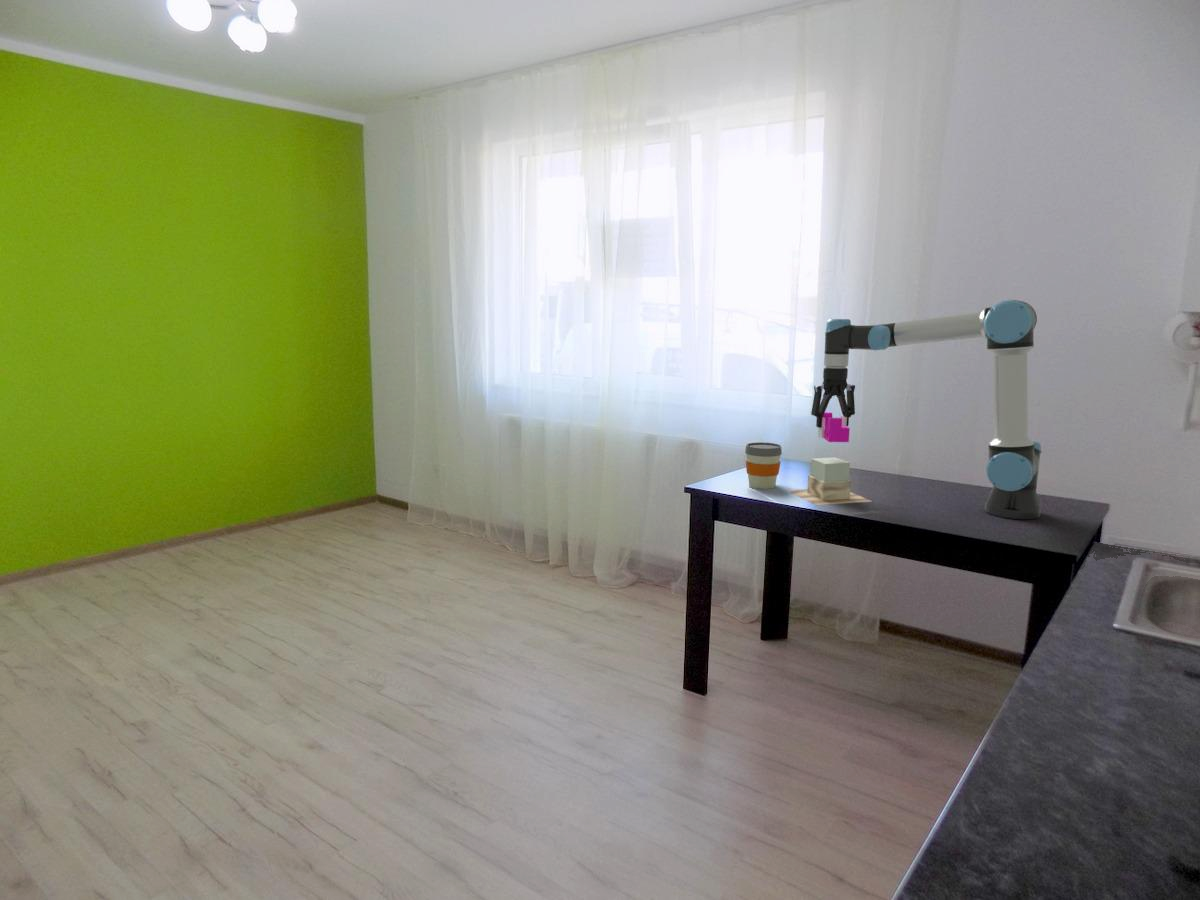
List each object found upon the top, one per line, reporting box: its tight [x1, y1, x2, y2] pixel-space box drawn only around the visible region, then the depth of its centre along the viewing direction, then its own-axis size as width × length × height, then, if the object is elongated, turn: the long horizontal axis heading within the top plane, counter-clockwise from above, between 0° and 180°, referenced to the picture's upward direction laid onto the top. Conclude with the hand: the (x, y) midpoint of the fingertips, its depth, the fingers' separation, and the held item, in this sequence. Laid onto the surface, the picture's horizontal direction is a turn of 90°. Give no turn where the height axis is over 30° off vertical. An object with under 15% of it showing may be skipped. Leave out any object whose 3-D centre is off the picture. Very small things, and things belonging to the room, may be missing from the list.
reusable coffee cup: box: [744, 441, 783, 490], centre depth 265 cm, size 13×13×15 cm
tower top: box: [809, 457, 851, 482], centre depth 250 cm, size 9×9×6 cm
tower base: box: [807, 475, 852, 500], centre depth 251 cm, size 10×10×6 cm
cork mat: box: [786, 488, 872, 506], centre depth 252 cm, size 20×20×1 cm
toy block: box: [823, 411, 850, 443], centre depth 246 cm, size 15×6×8 cm, turn 176°
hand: (831, 436), depth 248 cm, fingers closed on toy block, 7 cm apart
